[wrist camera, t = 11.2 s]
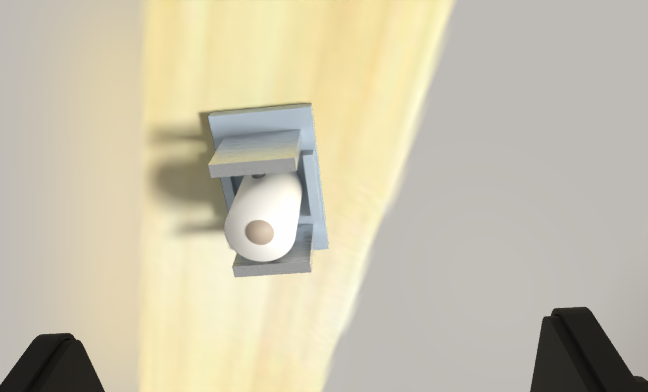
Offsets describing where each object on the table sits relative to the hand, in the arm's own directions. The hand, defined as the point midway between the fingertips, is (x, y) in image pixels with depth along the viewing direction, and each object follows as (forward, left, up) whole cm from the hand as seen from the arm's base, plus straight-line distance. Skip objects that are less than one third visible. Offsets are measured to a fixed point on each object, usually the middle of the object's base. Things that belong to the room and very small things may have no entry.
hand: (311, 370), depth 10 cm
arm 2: (+14, -6, -28) cm, 32 cm away
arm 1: (+5, -6, -28) cm, 29 cm away
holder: (+10, -6, -29) cm, 31 cm away
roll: (+10, -6, -28) cm, 31 cm away
